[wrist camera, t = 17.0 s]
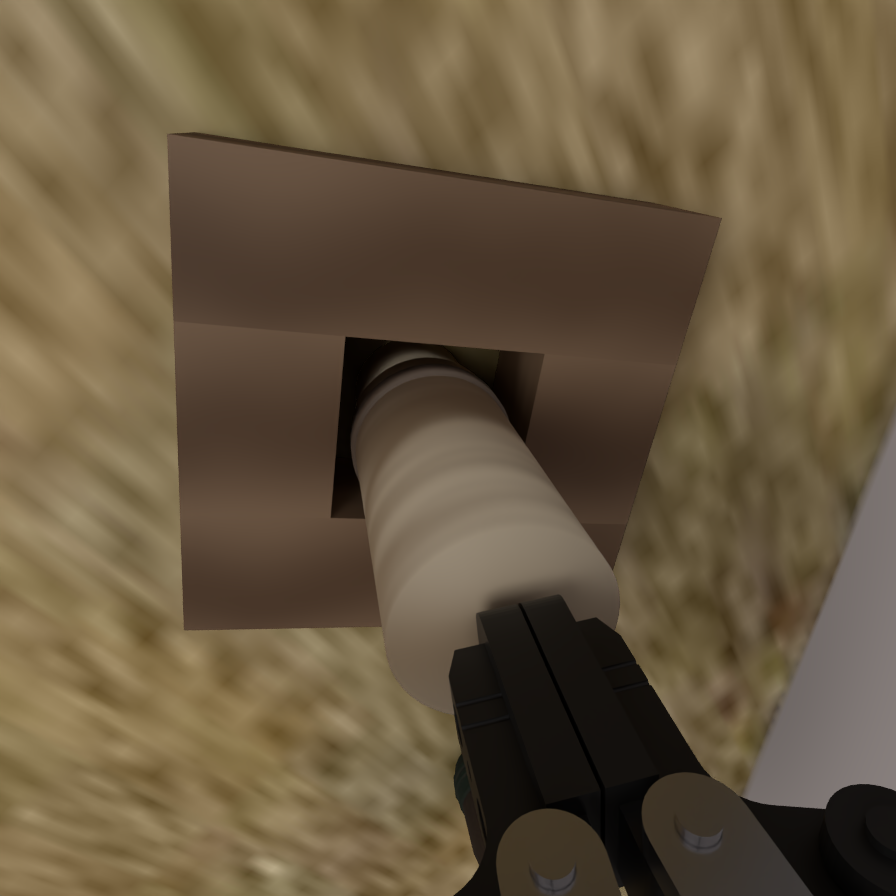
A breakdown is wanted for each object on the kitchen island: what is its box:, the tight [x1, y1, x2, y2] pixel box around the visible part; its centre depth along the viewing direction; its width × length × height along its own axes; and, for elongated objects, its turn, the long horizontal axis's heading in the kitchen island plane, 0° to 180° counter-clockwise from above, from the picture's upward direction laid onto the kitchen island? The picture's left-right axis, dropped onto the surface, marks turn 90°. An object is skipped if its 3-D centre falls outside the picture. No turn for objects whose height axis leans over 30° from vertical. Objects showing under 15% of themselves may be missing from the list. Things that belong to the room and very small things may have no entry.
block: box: [167, 132, 722, 630], centre depth 20 cm, size 14×14×4 cm
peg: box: [350, 341, 620, 715], centre depth 17 cm, size 5×5×12 cm
